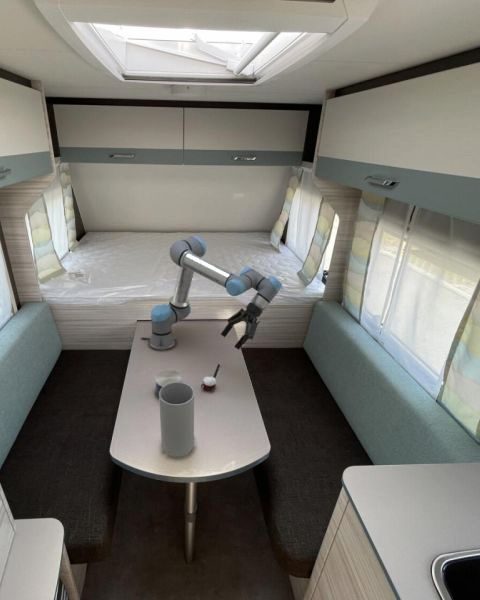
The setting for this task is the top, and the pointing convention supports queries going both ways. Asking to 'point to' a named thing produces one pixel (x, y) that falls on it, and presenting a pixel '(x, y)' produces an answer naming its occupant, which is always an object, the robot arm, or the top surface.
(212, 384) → the cocoa
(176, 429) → the cylinder vase
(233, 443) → the top surface
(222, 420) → the top surface
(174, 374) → the beige and blue cylinder
